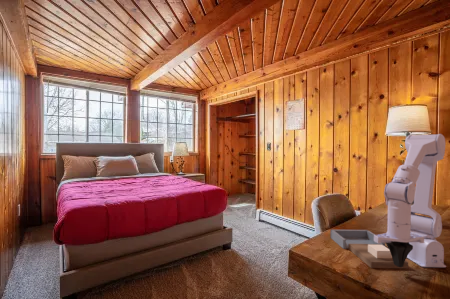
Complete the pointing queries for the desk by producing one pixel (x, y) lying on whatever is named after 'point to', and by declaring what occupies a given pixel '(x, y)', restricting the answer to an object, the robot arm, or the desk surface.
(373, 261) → the platform
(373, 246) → the tile
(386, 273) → the desk surface
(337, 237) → the box
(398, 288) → the desk surface
